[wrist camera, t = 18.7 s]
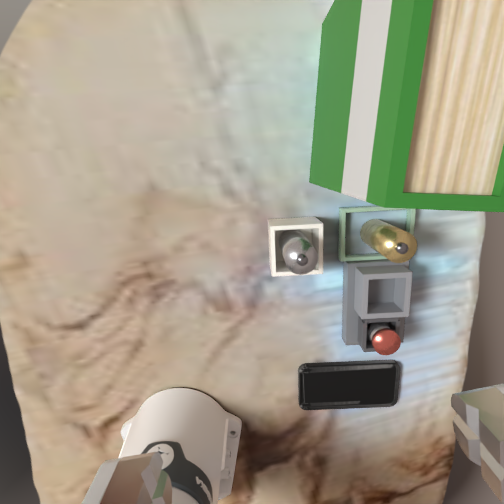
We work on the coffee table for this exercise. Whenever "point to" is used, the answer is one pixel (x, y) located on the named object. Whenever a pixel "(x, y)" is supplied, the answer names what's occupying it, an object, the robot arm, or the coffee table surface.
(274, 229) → the white square bin
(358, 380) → the phone
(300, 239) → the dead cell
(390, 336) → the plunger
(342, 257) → the pale green rectangular frame
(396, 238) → the cell
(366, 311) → the grey socket holder
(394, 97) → the hardback book
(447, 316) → the coffee table surface
